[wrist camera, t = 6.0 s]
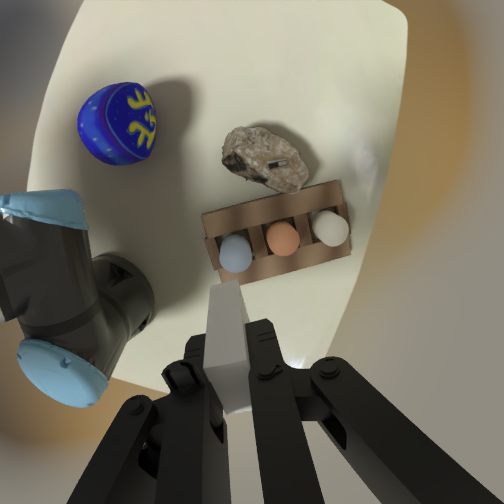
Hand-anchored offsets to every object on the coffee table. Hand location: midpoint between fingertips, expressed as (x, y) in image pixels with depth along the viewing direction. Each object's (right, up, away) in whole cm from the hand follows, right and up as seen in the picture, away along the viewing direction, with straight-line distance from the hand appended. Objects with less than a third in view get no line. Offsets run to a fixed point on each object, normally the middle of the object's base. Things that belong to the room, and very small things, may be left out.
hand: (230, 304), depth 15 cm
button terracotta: (+5, +6, +27) cm, 28 cm away
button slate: (-1, +3, +26) cm, 26 cm away
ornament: (-16, +21, +21) cm, 34 cm away
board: (+5, +6, +28) cm, 29 cm away
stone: (+2, +16, +24) cm, 29 cm away
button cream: (+12, +7, +26) cm, 30 cm away
